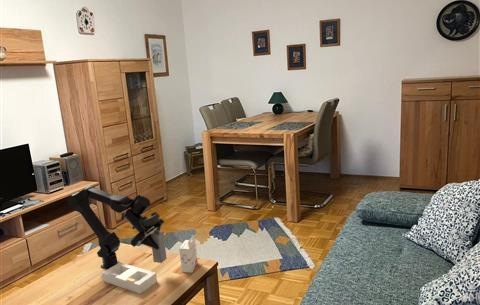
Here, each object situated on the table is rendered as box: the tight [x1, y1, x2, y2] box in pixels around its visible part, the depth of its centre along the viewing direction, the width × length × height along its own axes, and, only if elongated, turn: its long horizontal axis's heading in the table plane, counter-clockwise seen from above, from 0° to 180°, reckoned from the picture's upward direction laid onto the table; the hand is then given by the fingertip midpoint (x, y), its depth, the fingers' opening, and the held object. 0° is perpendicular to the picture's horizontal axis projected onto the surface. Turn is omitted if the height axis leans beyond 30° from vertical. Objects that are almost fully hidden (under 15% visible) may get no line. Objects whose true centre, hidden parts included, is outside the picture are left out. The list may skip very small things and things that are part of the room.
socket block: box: [101, 261, 158, 294], centre depth 168 cm, size 22×10×4 cm, turn 59°
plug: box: [150, 230, 167, 264], centre depth 170 cm, size 4×4×14 cm
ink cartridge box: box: [178, 234, 198, 274], centre depth 175 cm, size 9×5×15 cm, turn 168°
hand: (161, 246), depth 169 cm, fingers closed on plug, 4 cm apart
